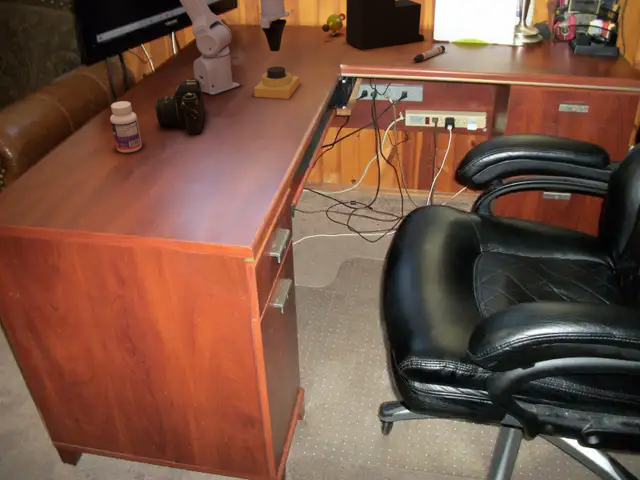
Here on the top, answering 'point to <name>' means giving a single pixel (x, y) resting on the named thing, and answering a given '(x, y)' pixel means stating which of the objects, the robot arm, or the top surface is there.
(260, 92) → the plate
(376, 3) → the bookend
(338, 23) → the toy figure
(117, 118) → the pill bottle
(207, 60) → the robot arm
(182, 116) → the film camera
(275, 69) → the button
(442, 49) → the marker
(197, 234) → the top surface
